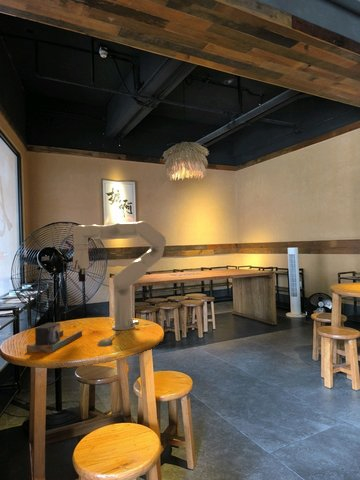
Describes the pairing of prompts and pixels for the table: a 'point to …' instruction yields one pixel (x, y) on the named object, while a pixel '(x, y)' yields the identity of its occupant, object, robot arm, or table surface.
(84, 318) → the table surface
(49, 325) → the small box
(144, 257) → the robot arm
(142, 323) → the table surface
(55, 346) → the chute
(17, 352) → the table surface
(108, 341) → the soupspoon
